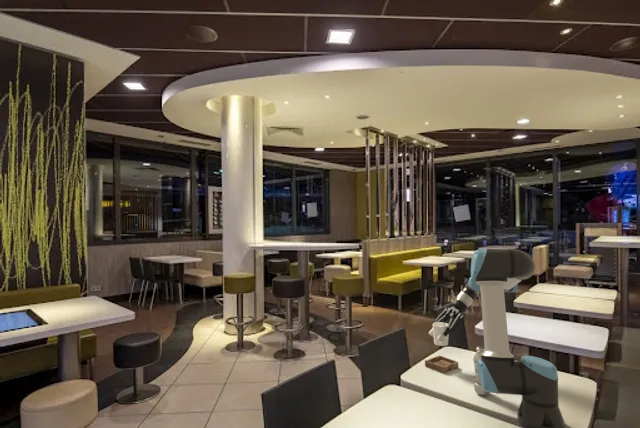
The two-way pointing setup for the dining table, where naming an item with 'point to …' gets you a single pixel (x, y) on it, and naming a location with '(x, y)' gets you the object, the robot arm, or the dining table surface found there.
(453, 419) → the dining table surface
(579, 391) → the dining table surface
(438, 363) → the brown wooden tray
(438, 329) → the white cup
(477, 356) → the plastic bottle
